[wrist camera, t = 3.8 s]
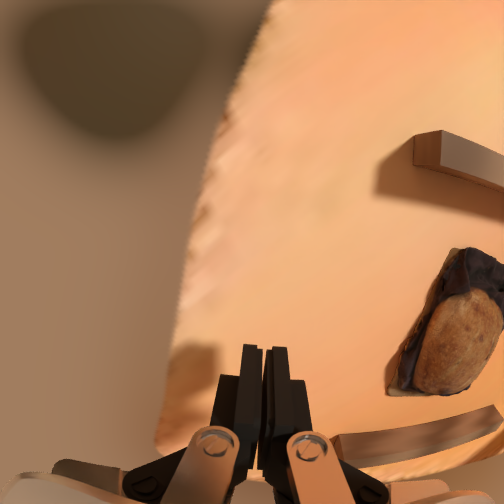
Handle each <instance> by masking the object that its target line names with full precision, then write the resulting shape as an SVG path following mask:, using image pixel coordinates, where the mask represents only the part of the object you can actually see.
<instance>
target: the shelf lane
mask: <svg viewBox="0 0 504 504" xmlns="http://www.w3.org/2000/svg"><path fill="white" fill-rule="evenodd" d="M413 165H416V166H420V167H424V168H427V169H431V170H435V171H438V172H442V173H445V174H449V175H452V176H456V177H459V178H462V179H465V180H468V181H471V182H474V183H477V184H480V185H483V186H486V187H489V188H492V189H494V190H497V191H500V192H502V193H504V156H503V155H501V154H499V153H497V152H495V151H492V150H490V149H488V148H486V147H484V146H481V145H479V144H477V143H474V142H472V141H470V140H467V139H465V138H462V137H460V136H457V135H454V134H452V133H449V132H446V131H443V130H439V131H433V132H428V133H423V134H418V135H415V138H414V155H413ZM503 421H504V419H503V417H502V416H501V415H500V413H499V412H498V410H497V409H496V408H495V406H494V405H490V406H487V407H485V408H482V409H478V410H475V411H472V412H469V413H465V414H462V415H458V416H455V417H451V418H447V419H443V420H439V421H434V422H430V423H425V424H420V425H415V426H410V427H404V428H397V429H391V430H383V431H375V432H366V433H355V434H340V435H339V436H338V438H337V440H336V442H335V444H334V451H335V453H336V456H337V457H338V458H339V459H341V460H343V461H344V462H346V463H348V464H349V465H351V466H353V467H355V468H356V469H359V468H366V467H373V466H379V465H385V464H391V463H396V462H401V461H405V460H410V459H414V458H418V457H422V456H426V455H430V454H433V453H437V452H440V451H443V450H447V449H450V448H453V447H456V446H459V445H462V444H464V443H467V442H470V441H472V440H475V439H478V438H480V437H483V436H485V435H487V434H490V433H492V432H494V431H496V430H497V429H498V428H499V426H500V425H501V424H502V422H503Z"/></svg>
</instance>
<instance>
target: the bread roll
mask: <svg viewBox="0 0 504 504" xmlns="http://www.w3.org/2000/svg"><path fill="white" fill-rule="evenodd" d="M503 329H504V264H501V263H499V262H498V261H496V258H493V257H492V256H489V255H488V254H485V253H484V252H482V251H480V250H478V249H476V248H471V247H469V248H468V247H467V248H466V249H463V250H462V249H457V248H452V249H451V250H450V252H449V255H448V256H447V258H446V260H445V262H444V264H443V267H442V269H441V271H440V273H439V275H438V278H437V280H436V283H435V285H434V287H433V288H432V292H431V294H430V297H429V298H428V300H427V302H426V304H425V307H424V309H423V313H422V315H421V316H420V319H419V321H418V324H417V325H416V327H415V330H414V332H413V333H414V335H413V337H412V338H411V337H410V338H408V343H407V344H406V345H405V351H403V353H402V354H401V355H400V358H399V364H398V366H397V367H396V368H397V369H396V372H395V376H394V377H393V379H392V382H391V383H390V385H389V386H388V388H387V394H388V395H389V396H401V397H402V396H430V395H440V396H450V395H453V394H458V393H460V392H462V391H463V390H467V389H469V387H470V385H471V383H472V382H473V381H474V380H475V379H476V378H477V377H478V375H479V374H480V372H481V371H482V370H483V368H484V367H485V365H486V364H487V362H488V360H489V358H490V357H491V355H492V353H493V351H494V349H495V347H496V344H497V342H498V339H499V336H500V334H501V332H502V331H503Z"/></svg>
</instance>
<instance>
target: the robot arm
mask: <svg viewBox="0 0 504 504" xmlns="http://www.w3.org/2000/svg"><path fill="white" fill-rule="evenodd" d="M262 356H263V349H257V345H250V344H243V352H242V360H241V369H240V376H233V375H224V374H221V375H220V378H219V383H218V387H217V392H216V397H215V402H214V406H213V411H212V416H211V421H210V426H207V427H204V428H201V429H200V430H198V431H197V432H196V433H195V434H194V435H193V437H192V439H191V441H190V443H189V445H188V447H185V448H183V449H181V450H179V451H177V452H174V453H172V454H170V455H168V456H165V457H163V458H161V459H158V460H156V461H153V462H151V463H148V464H146V465H143V466H141V467H138V468H135V469H133V470H131V471H122V470H121V469H120V468H116V467H108V466H102V465H96V464H91V463H86V462H81V461H76V460H72V459H63V460H59V461H58V462H57V463H56V464H55V465H54V467H53V469H52V473H51V474H50V473H43V472H23V473H20V474H18V475H16V476H15V477H14V478H12V479H11V480H10V481H9V482H8V483H7V484H6V485H5V487H4V488H3V489H2V490H1V492H0V504H230V503H231V500H232V497H233V493H234V490H235V486H236V485H238V484H240V483H241V482H243V481H244V480H246V478H247V472H248V469H253V465H254V459H255V454H256V449H257V443H258V459H257V470H263V477H265V481H266V482H268V483H269V484H270V485H271V486H273V494H274V500H275V504H495V502H494V501H493V500H492V498H491V497H490V496H488V495H487V494H485V493H484V492H481V491H473V490H460V491H452V492H450V490H449V487H448V485H447V484H446V483H445V482H444V481H442V480H438V479H432V480H422V481H407V482H391V483H390V484H383V483H382V482H380V481H379V480H377V479H375V478H373V477H371V476H369V475H367V474H365V473H364V472H362V471H360V470H358V469H356V468H355V467H353V466H351V465H349V464H348V463H346V462H344V461H343V460H341V459H339V458H338V457H337V456H336V453H335V451H334V448H333V446H332V444H331V442H330V440H329V439H328V438H327V437H326V436H324V435H322V434H320V433H318V432H313V430H312V423H311V417H310V410H309V404H308V398H307V391H306V385H305V381H304V380H290V372H289V362H288V353H287V347H276V346H273V347H272V350H267V351H266V359H265V366H264V373H263V380H262Z"/></svg>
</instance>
